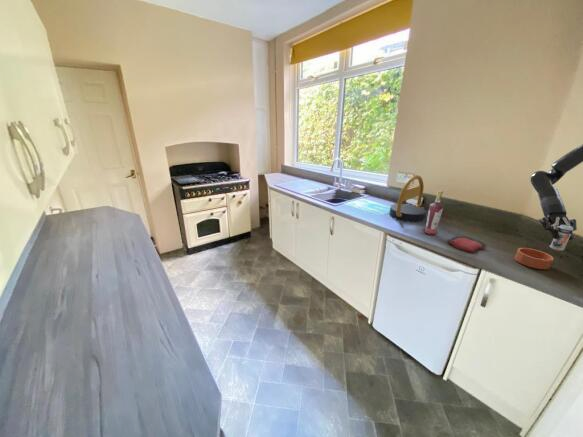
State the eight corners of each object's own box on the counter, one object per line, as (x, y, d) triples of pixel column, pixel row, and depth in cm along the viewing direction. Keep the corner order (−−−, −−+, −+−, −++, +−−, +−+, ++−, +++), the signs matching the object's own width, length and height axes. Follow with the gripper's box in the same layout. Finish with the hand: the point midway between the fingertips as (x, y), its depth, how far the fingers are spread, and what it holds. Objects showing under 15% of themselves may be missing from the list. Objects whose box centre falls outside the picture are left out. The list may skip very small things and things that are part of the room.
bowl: (549, 264, 117) (554, 254, 115) (547, 273, 109) (552, 263, 107) (516, 254, 126) (519, 245, 124) (512, 262, 118) (515, 252, 116)
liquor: (432, 237, 145) (443, 193, 135) (420, 232, 151) (430, 190, 140) (438, 234, 149) (449, 191, 139) (427, 230, 154) (437, 188, 144)
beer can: (547, 247, 115) (557, 225, 110) (552, 245, 116) (562, 223, 112) (560, 252, 111) (571, 229, 106) (565, 250, 112) (576, 227, 108)
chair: (433, 216, 180) (443, 175, 169) (411, 227, 160) (421, 181, 148) (401, 207, 198) (409, 170, 187) (378, 216, 177) (385, 175, 166)
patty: (471, 254, 125) (472, 251, 124) (444, 244, 136) (445, 241, 135) (487, 247, 133) (488, 244, 132) (460, 237, 144) (461, 234, 143)
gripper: (542, 202, 115) (553, 234, 108) (576, 204, 112) (590, 237, 106) (530, 209, 121) (539, 240, 115) (562, 211, 119) (574, 242, 112)
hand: (563, 238), depth 110 cm, fingers closed on beer can, 5 cm apart
